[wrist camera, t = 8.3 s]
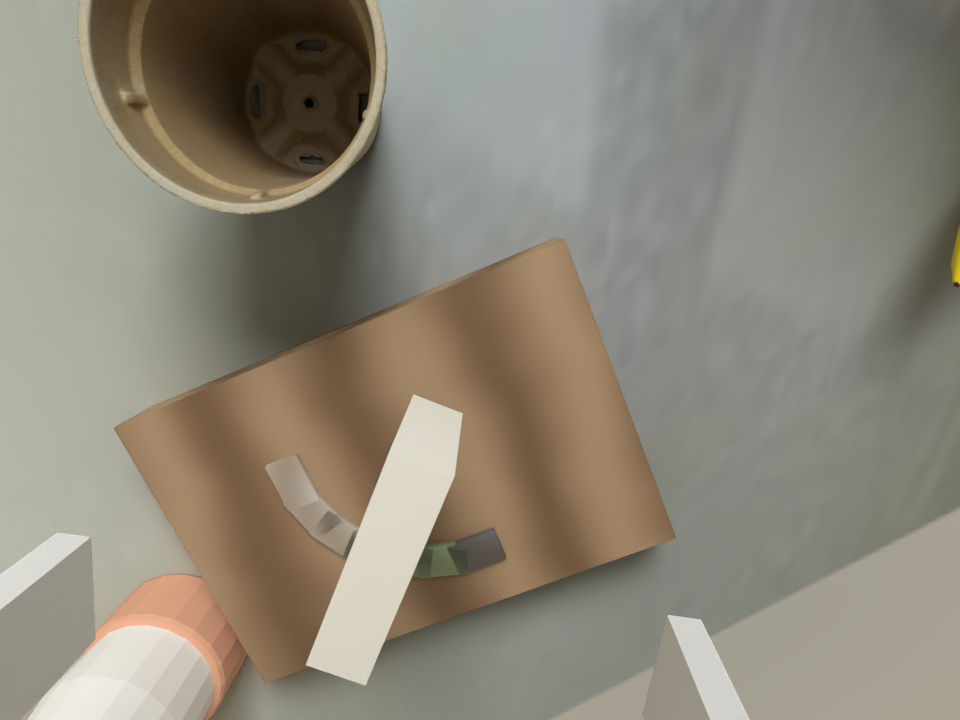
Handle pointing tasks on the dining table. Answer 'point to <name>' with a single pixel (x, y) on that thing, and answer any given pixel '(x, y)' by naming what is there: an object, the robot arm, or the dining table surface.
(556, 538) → the tuner board
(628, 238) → the dining table surface
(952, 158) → the dining table surface
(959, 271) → the banana
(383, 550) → the white angular block
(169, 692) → the salt shaker
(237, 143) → the flower pot
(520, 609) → the dining table surface
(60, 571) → the robot arm
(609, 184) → the dining table surface
